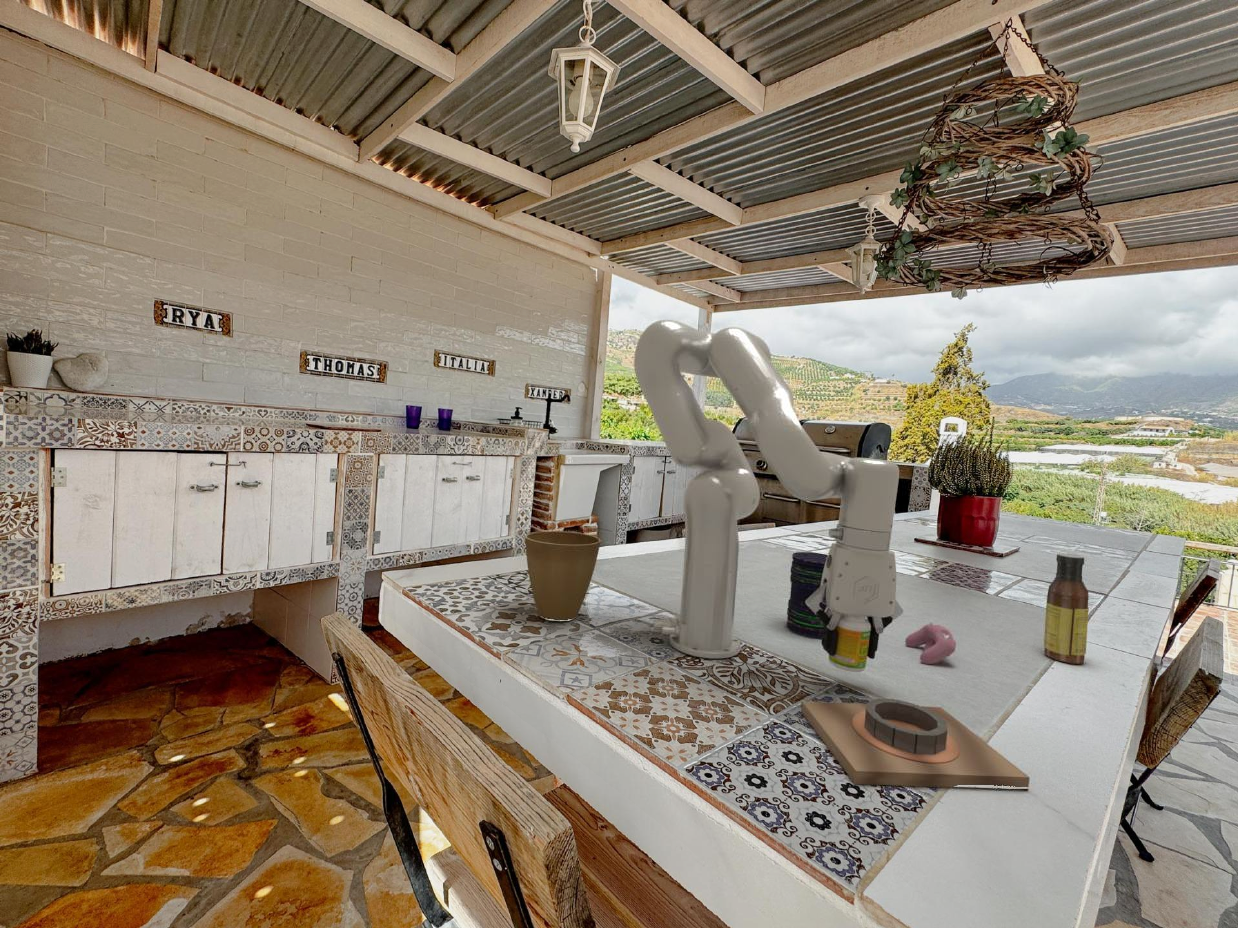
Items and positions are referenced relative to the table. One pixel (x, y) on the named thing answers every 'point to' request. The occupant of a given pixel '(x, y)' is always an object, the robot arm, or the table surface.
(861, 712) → the socket board
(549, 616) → the plant pot
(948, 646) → the video game controller
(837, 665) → the supplement bottle
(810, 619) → the storage jar
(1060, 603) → the sauce bottle
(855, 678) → the table surface
